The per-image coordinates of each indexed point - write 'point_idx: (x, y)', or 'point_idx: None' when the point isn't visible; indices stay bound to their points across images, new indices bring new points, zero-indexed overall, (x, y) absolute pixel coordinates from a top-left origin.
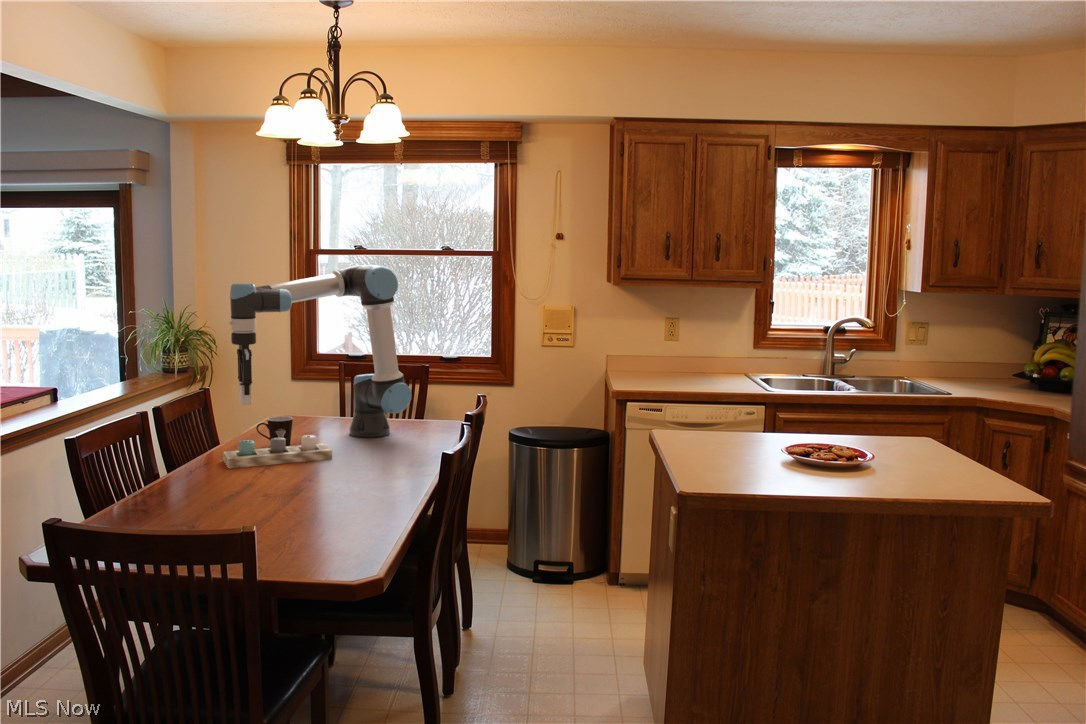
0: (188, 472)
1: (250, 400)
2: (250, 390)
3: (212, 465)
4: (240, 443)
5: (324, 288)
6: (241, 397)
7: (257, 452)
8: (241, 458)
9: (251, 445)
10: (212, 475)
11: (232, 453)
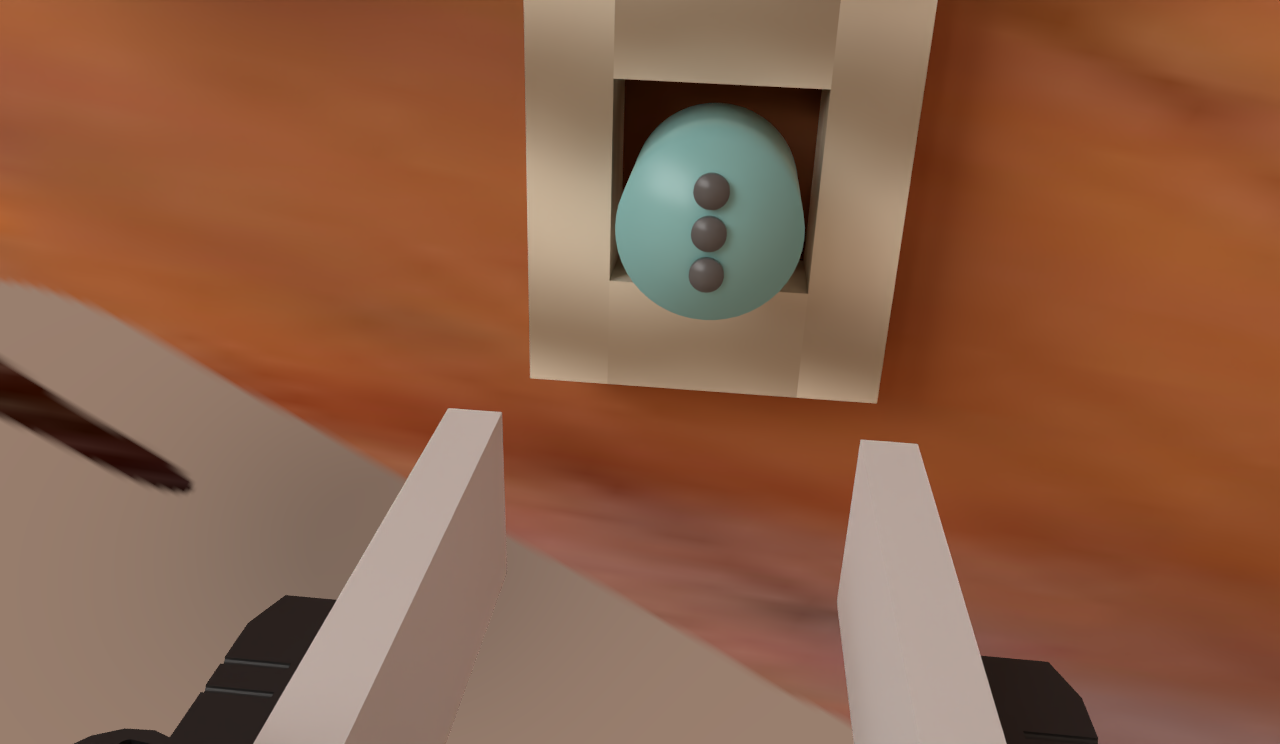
0: (831, 632)
1: (935, 517)
2: (994, 708)
3: (683, 449)
4: (754, 307)
5: None
6: (483, 613)
7: (708, 66)
8: (893, 277)
9: (791, 178)
10: (1033, 510)
11: (641, 317)
